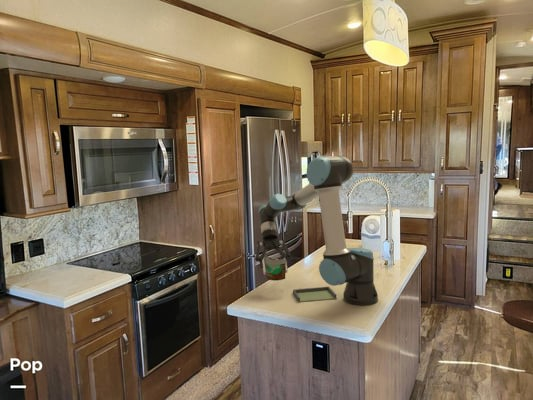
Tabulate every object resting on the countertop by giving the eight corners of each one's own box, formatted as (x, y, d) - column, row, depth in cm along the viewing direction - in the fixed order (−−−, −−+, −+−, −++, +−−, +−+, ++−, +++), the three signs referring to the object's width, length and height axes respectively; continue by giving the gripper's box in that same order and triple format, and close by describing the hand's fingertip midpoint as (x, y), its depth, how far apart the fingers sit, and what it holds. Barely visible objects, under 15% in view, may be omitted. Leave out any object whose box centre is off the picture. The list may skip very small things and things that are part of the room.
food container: (259, 278, 195) (257, 258, 194) (267, 275, 200) (266, 255, 198) (279, 283, 187) (278, 261, 186) (287, 279, 192) (286, 258, 191)
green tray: (336, 298, 186) (336, 294, 186) (297, 302, 184) (297, 298, 183) (329, 290, 198) (329, 286, 197) (292, 293, 195) (292, 289, 195)
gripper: (290, 235, 208) (298, 274, 194) (246, 238, 206) (251, 278, 192) (291, 226, 203) (300, 266, 189) (247, 230, 200) (252, 270, 186)
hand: (275, 272), depth 190 cm, fingers closed on food container, 9 cm apart
